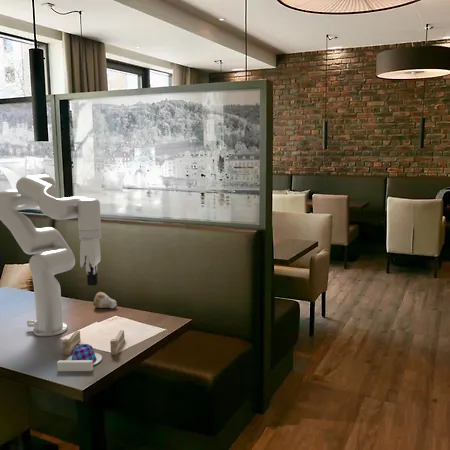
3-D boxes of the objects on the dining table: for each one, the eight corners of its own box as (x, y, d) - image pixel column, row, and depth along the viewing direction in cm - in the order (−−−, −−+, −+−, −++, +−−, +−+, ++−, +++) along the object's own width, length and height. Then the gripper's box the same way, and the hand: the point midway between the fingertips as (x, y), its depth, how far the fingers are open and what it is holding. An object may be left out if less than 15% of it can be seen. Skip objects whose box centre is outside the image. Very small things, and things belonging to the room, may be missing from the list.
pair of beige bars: (63, 355, 167) (62, 341, 166) (75, 339, 180) (74, 326, 179) (116, 354, 166) (116, 341, 166) (125, 339, 180) (124, 326, 179)
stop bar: (57, 371, 155) (57, 362, 154) (59, 369, 156) (58, 360, 156) (91, 371, 155) (91, 362, 154) (93, 368, 156) (92, 360, 156)
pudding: (85, 351, 170) (85, 337, 170) (109, 359, 164) (108, 344, 163) (57, 364, 161) (56, 349, 160) (81, 373, 154) (80, 357, 153)
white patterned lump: (114, 311, 211) (101, 293, 209) (99, 318, 215) (86, 300, 213) (122, 302, 217) (110, 284, 215) (107, 309, 222) (95, 291, 219)
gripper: (85, 230, 176) (88, 278, 179) (72, 238, 161) (75, 291, 164) (106, 230, 176) (108, 278, 179) (94, 238, 161) (97, 291, 164)
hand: (92, 284), depth 171 cm, fingers closed
